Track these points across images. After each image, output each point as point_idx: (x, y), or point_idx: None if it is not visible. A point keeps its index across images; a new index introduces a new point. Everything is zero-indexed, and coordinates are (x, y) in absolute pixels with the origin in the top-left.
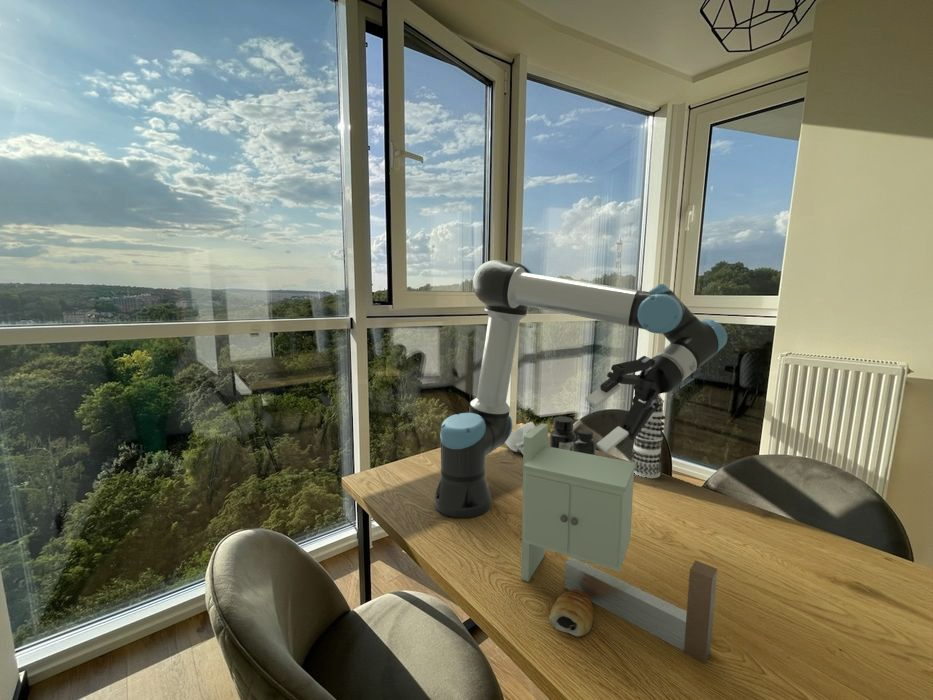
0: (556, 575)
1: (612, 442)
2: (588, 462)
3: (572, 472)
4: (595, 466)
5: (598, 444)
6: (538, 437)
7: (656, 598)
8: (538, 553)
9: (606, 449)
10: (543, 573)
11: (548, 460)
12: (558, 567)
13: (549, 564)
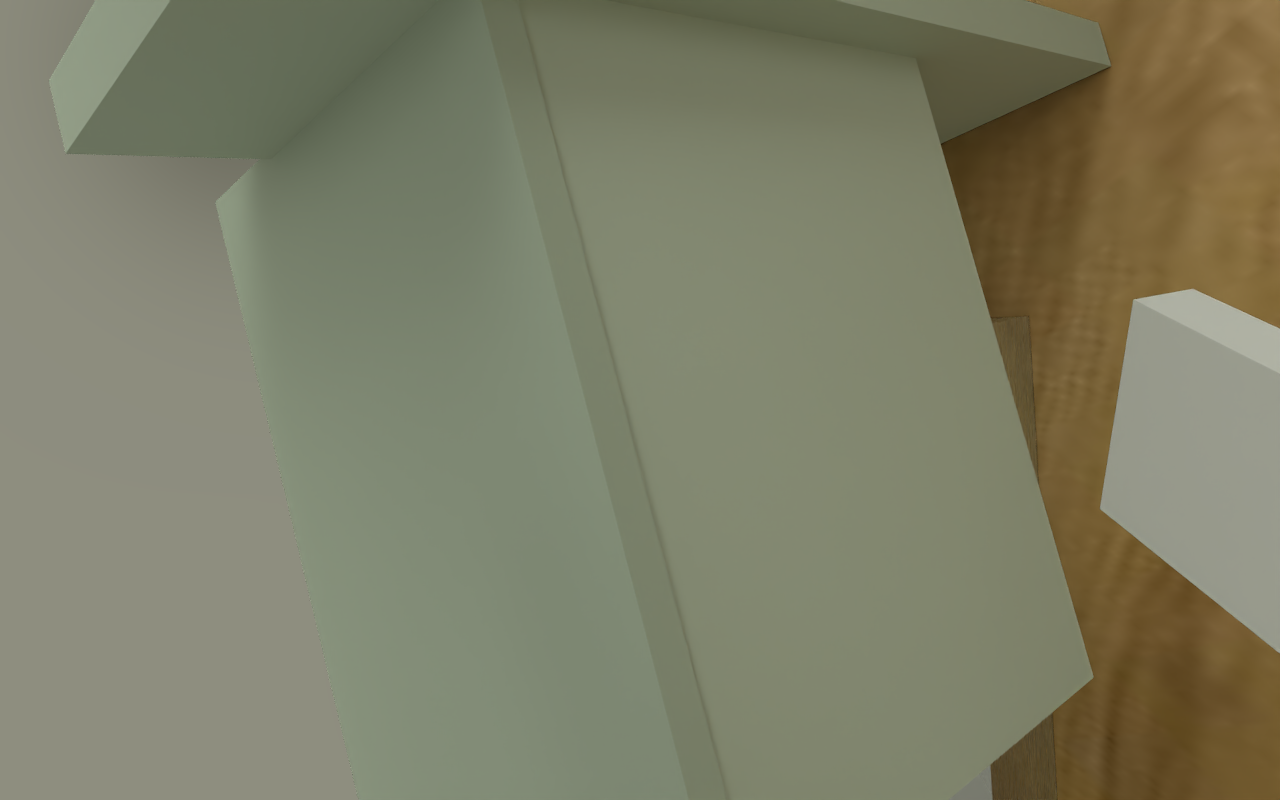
0: (1008, 237)
1: (1259, 589)
2: (478, 558)
3: (324, 530)
4: (462, 641)
5: (1134, 339)
6: (192, 69)
7: (980, 792)
8: (962, 112)
9: (1117, 505)
10: (972, 180)
11: (328, 268)
12: (1075, 200)
13: (1059, 147)
